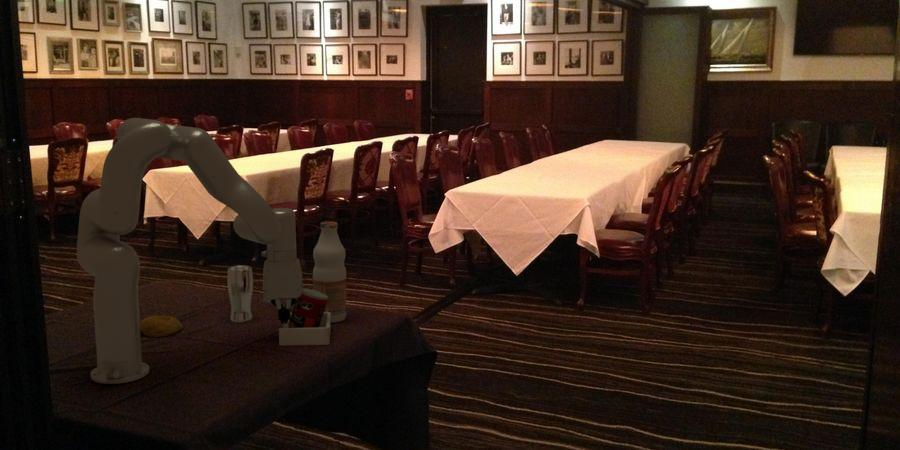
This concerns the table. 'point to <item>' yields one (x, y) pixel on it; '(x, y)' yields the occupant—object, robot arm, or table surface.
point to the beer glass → (240, 292)
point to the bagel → (160, 326)
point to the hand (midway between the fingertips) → (284, 322)
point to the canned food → (308, 309)
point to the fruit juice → (330, 271)
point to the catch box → (306, 333)
